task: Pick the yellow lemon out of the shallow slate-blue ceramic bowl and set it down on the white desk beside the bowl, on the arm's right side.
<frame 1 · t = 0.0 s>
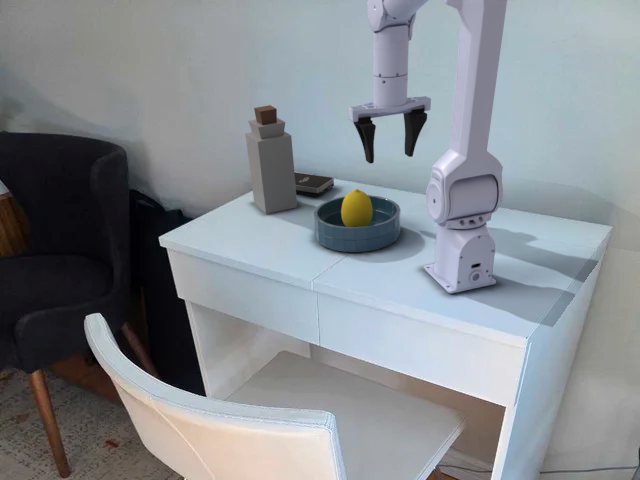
hand: (389, 158, 110), 10 cm above the table, tool pointing down, fingers open, 7 cm apart
bowl: (357, 235, 110), on the table
external hard drive: (304, 190, 130), on the table
perfume bottle: (275, 206, 124), on the table
lemon: (357, 234, 110), resting on bowl
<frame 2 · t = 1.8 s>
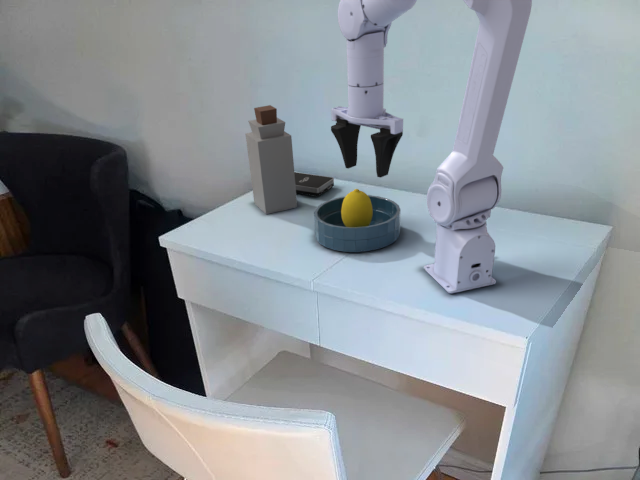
hand: (366, 171, 105), 10 cm above the table, tool pointing down, fingers open, 7 cm apart
nothing on the table moved.
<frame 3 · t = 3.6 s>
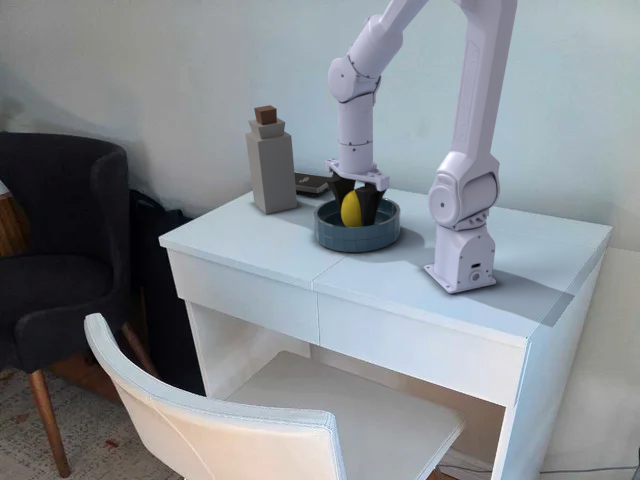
hand: (357, 221, 108), 3 cm above the table, tool pointing down, fingers closed on lemon, 5 cm apart
lemon: (357, 234, 110), resting on bowl, touching gripper
everything else where it was.
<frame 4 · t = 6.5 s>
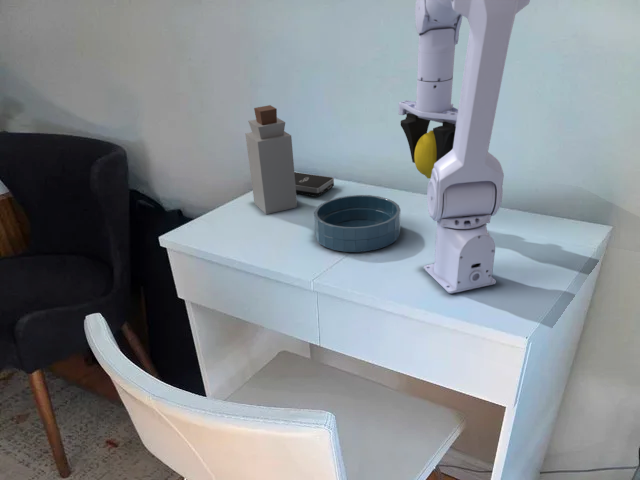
hand: (430, 165, 107), 10 cm above the table, tool pointing down, fingers closed on lemon, 5 cm apart
lemon: (429, 179, 109), point 7 cm above the table, touching gripper
everything else where it was.
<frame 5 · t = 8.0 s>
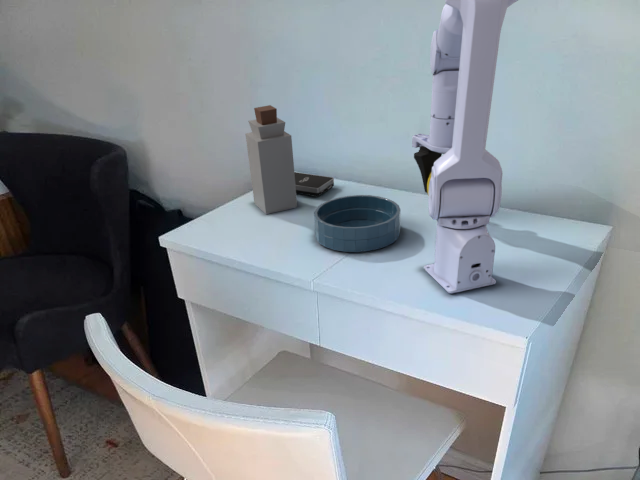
hand: (441, 195, 112), 4 cm above the table, tool pointing down, fingers closed on lemon, 5 cm apart
lemon: (440, 208, 113), point 2 cm above the table, touching gripper
everything else where it was.
when the fingers open (2 cm above the table, at t = 9.2 s): lemon stays where it is, on the table.
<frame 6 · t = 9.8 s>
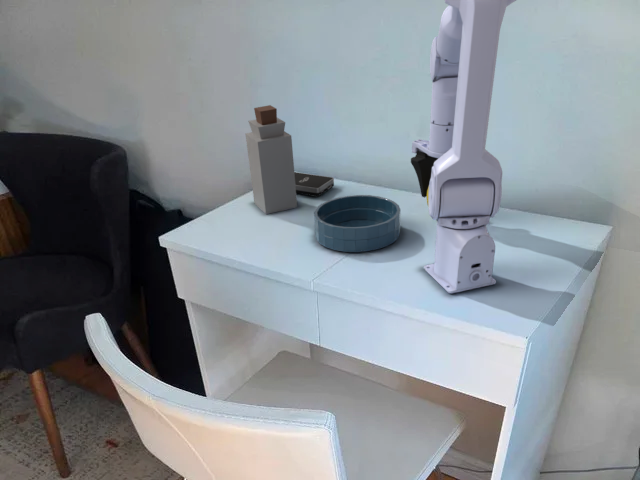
hand: (441, 200, 112), 3 cm above the table, tool pointing down, fingers open, 7 cm apart
lemon: (440, 217, 114), on the table
everything else where it was.
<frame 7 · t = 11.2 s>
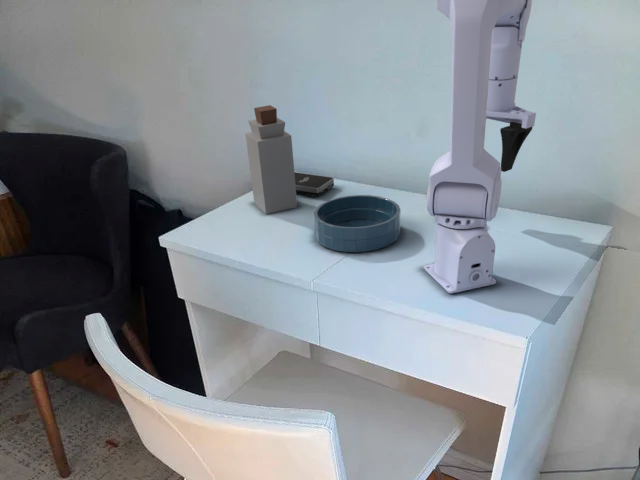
hand: (488, 165, 105), 10 cm above the table, tool pointing down, fingers open, 7 cm apart
nothing on the table moved.
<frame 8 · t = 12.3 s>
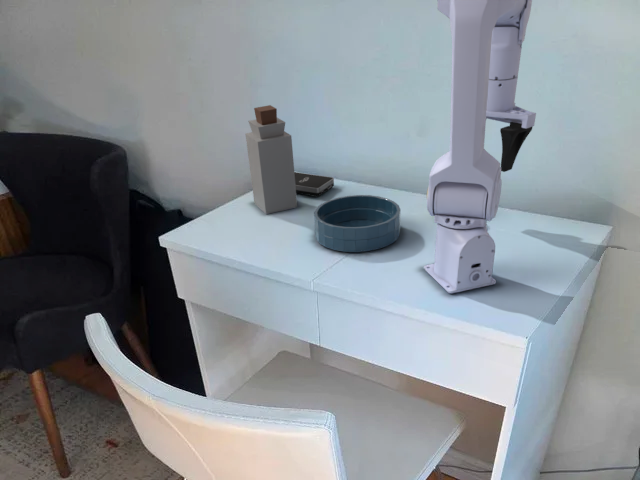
hand: (488, 165, 105), 10 cm above the table, tool pointing down, fingers open, 7 cm apart
nothing on the table moved.
at the end: lemon inside the target area (0.1 cm from its centre), on the table; lemon touching table; the gripper is holding nothing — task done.
